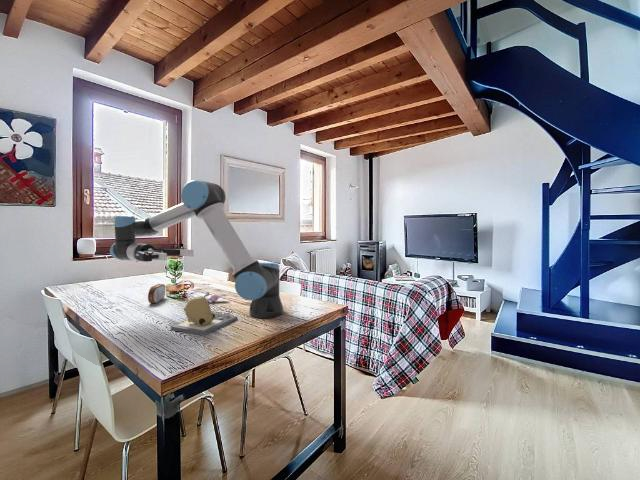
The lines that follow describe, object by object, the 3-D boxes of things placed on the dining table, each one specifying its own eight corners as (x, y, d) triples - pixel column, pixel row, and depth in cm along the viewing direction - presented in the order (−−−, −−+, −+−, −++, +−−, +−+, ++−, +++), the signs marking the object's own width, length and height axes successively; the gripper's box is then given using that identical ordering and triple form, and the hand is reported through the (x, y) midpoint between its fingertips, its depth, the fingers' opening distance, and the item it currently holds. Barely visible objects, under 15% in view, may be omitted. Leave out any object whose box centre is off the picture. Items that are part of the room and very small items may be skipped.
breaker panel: (237, 319, 132) (237, 312, 132) (203, 335, 114) (203, 327, 114) (207, 314, 138) (207, 308, 138) (170, 329, 120) (170, 321, 119)
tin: (160, 297, 167) (160, 282, 167) (167, 297, 167) (166, 282, 167) (147, 305, 152) (146, 288, 152) (154, 305, 153) (153, 288, 152)
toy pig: (190, 335, 119) (203, 321, 115) (176, 309, 123) (188, 294, 118) (211, 327, 128) (224, 313, 123) (197, 303, 131) (209, 288, 126)
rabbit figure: (196, 307, 153) (228, 300, 159) (194, 296, 153) (225, 289, 158) (196, 304, 159) (226, 297, 165) (194, 293, 158) (224, 286, 164)
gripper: (166, 257, 144) (202, 260, 137) (113, 265, 121) (153, 268, 114) (165, 241, 144) (202, 243, 136) (112, 246, 121) (152, 248, 113)
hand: (180, 254), depth 125 cm, fingers open, 13 cm apart
